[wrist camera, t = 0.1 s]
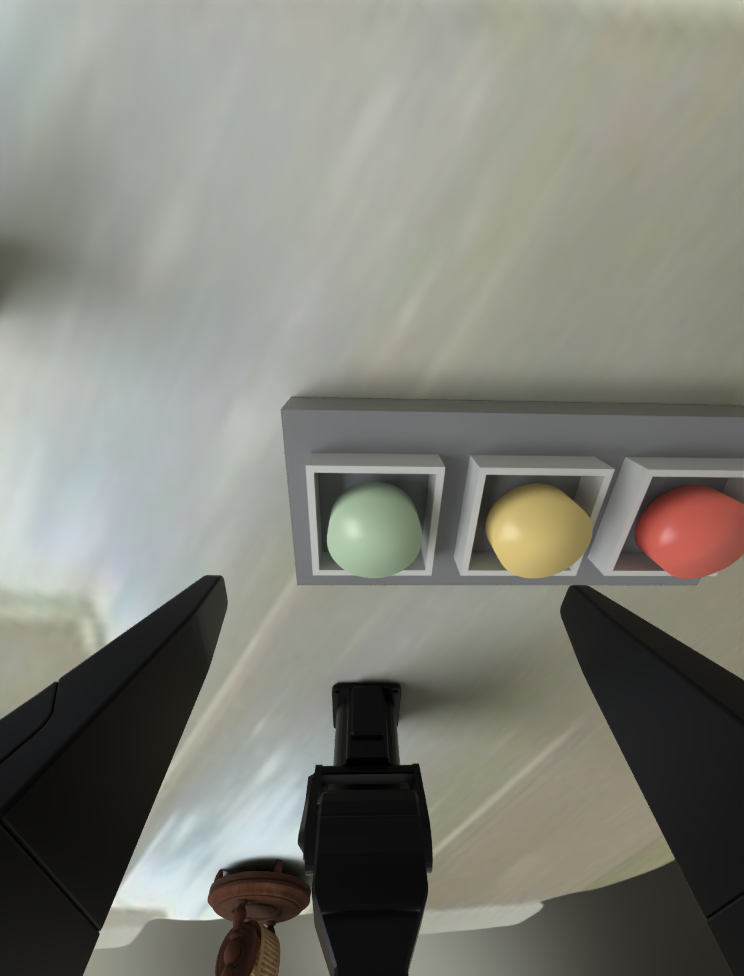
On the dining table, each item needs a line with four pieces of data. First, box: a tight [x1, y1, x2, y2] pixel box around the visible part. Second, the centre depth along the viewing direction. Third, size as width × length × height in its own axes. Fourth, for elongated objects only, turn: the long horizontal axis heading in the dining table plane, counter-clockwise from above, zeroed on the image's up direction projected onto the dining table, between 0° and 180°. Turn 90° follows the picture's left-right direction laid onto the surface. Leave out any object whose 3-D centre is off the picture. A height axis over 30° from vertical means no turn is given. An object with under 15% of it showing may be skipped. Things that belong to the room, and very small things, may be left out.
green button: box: [327, 481, 423, 578], centre depth 19 cm, size 5×5×2 cm
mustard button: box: [485, 483, 592, 578], centre depth 19 cm, size 5×5×2 cm
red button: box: [634, 485, 744, 579], centre depth 20 cm, size 5×5×2 cm
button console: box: [281, 397, 744, 585], centre depth 22 cm, size 12×28×5 cm, turn 89°
